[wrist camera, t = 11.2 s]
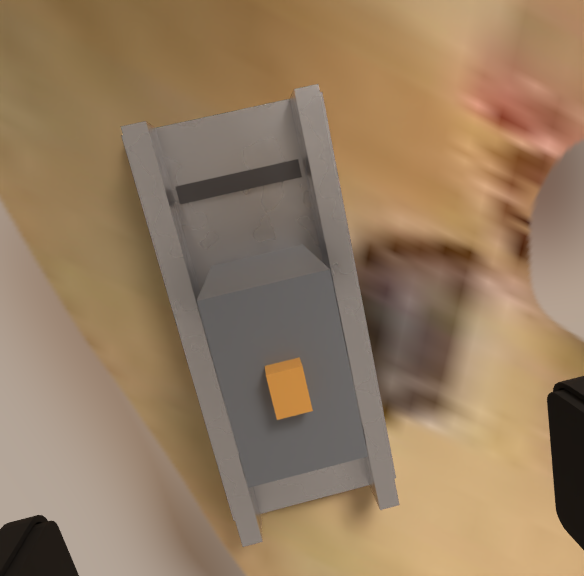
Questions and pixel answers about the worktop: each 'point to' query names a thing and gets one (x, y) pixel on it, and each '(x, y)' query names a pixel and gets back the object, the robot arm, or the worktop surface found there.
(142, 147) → the rail
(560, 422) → the robot arm
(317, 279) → the block
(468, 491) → the worktop surface
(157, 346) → the worktop surface
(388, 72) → the worktop surface
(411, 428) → the worktop surface
